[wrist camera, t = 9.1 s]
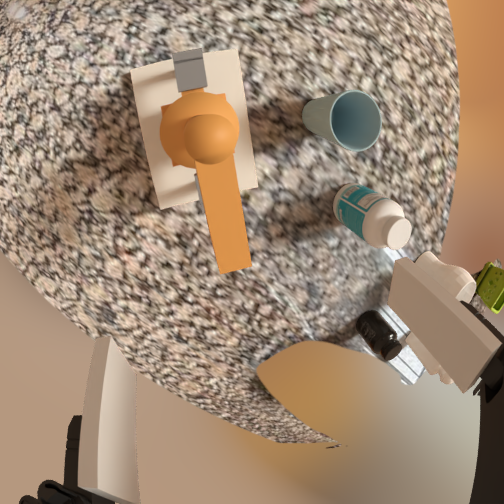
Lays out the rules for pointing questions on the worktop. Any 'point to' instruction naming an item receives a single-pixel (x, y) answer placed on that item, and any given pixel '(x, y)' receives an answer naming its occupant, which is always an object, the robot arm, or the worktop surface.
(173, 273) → the worktop surface
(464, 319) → the robot arm
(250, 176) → the base
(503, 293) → the flower pot
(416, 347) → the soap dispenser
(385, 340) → the supplement bottle
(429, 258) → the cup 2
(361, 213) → the pill bottle
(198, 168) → the lever handle
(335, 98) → the cup
